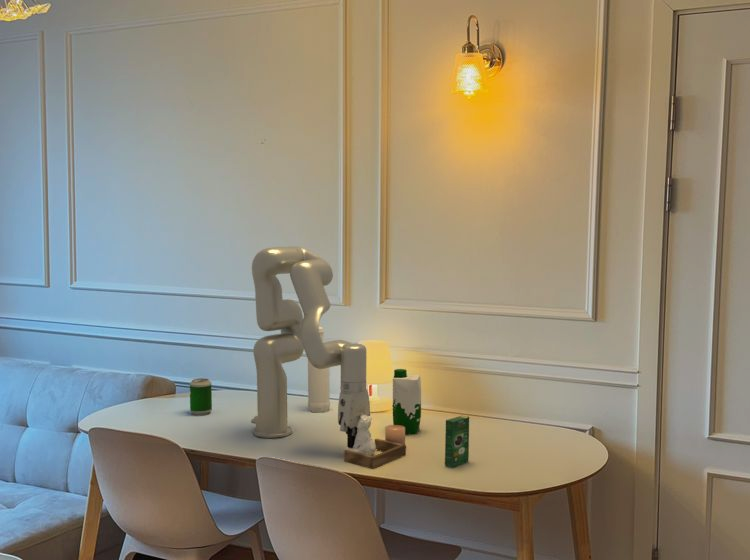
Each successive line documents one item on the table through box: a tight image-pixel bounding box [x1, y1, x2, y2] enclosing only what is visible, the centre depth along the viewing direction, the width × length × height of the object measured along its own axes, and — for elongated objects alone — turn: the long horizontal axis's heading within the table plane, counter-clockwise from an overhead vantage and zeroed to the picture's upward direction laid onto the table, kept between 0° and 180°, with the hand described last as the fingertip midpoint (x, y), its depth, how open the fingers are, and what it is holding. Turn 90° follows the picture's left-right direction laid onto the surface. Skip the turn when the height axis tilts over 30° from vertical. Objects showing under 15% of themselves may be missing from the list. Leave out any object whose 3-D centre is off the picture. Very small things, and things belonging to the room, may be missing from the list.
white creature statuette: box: [347, 414, 377, 456], centre depth 217 cm, size 10×9×12 cm
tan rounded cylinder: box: [384, 424, 406, 445], centre depth 225 cm, size 6×6×6 cm
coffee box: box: [444, 415, 470, 469], centre depth 209 cm, size 8×3×13 cm, turn 137°
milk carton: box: [392, 368, 422, 435], centre depth 241 cm, size 9×9×20 cm
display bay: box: [343, 438, 407, 470], centre depth 214 cm, size 11×15×3 cm
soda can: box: [189, 377, 213, 417], centre depth 264 cm, size 8×8×12 cm
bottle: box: [307, 326, 331, 413], centre depth 268 cm, size 8×8×30 cm
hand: (353, 447), depth 219 cm, fingers closed
